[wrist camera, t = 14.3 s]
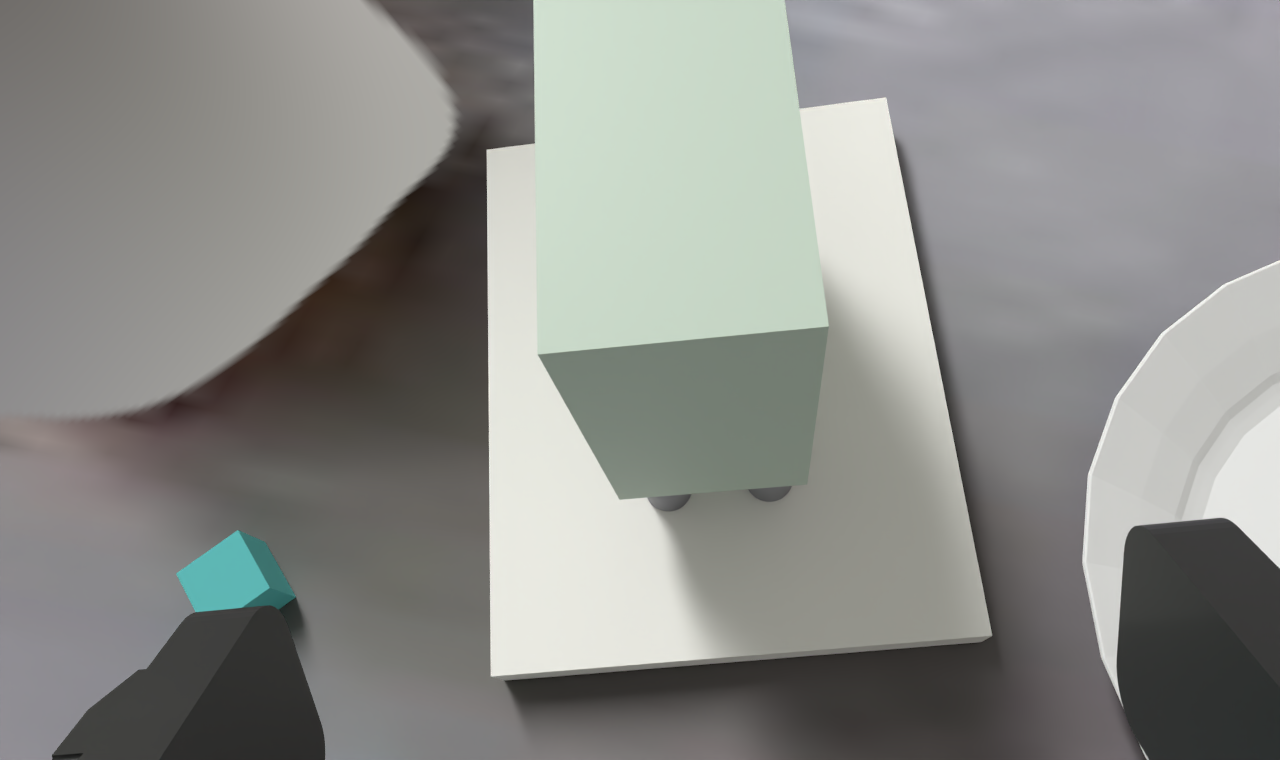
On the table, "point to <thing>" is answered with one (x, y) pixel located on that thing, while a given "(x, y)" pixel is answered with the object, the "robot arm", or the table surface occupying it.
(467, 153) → the table surface
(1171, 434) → the plate
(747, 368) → the pale green square block
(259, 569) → the alien figure
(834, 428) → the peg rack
